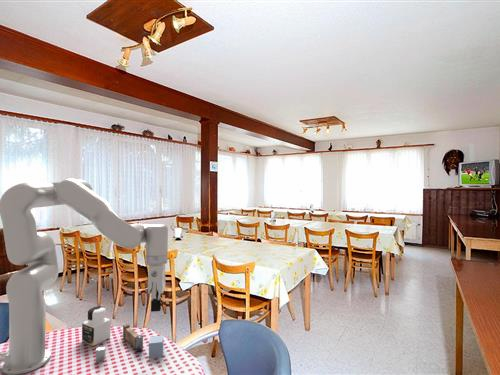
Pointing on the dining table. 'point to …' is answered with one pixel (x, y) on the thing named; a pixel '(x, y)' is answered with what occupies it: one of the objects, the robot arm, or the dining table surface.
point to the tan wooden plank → (129, 335)
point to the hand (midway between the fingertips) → (155, 310)
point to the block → (156, 346)
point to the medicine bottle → (96, 326)
